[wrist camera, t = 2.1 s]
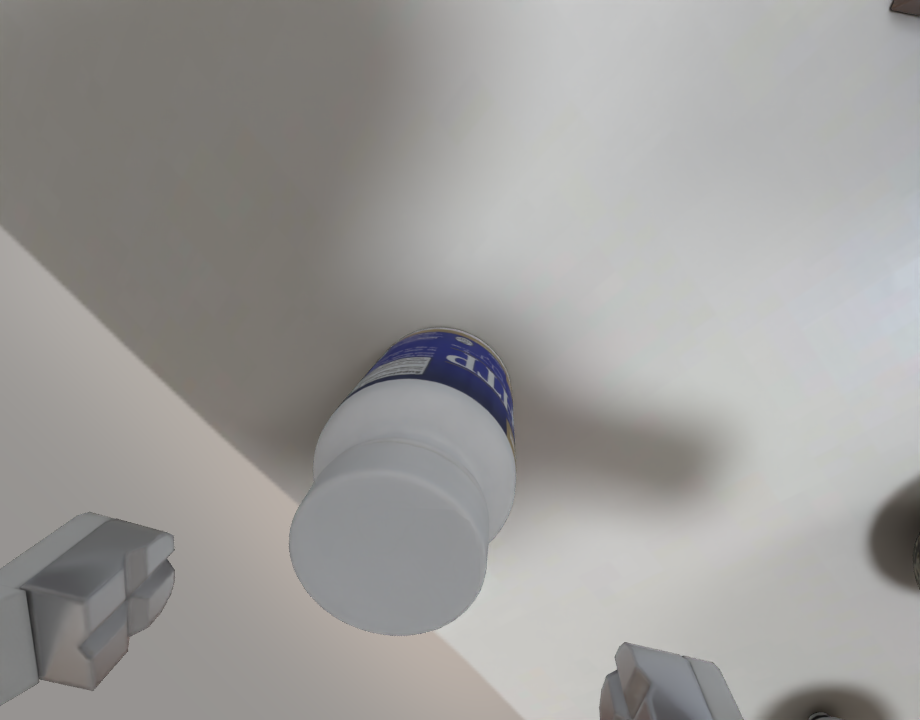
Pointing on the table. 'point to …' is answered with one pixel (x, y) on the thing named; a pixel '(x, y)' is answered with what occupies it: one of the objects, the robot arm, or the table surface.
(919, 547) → the decorative egg
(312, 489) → the pill bottle
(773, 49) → the table surface
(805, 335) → the table surface
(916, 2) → the shelf
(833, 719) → the light bulb
